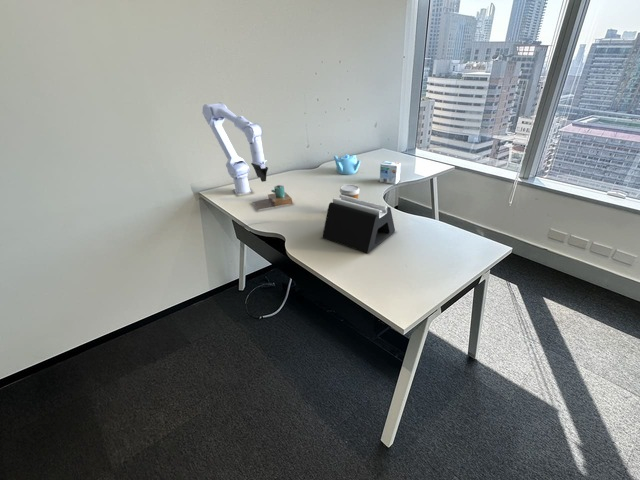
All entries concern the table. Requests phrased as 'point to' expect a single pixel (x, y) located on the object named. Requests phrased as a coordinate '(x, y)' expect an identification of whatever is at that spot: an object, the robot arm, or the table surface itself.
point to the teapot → (347, 164)
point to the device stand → (358, 223)
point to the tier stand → (272, 201)
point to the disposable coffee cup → (350, 191)
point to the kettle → (279, 191)
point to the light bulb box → (389, 172)
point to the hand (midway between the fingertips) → (261, 179)
